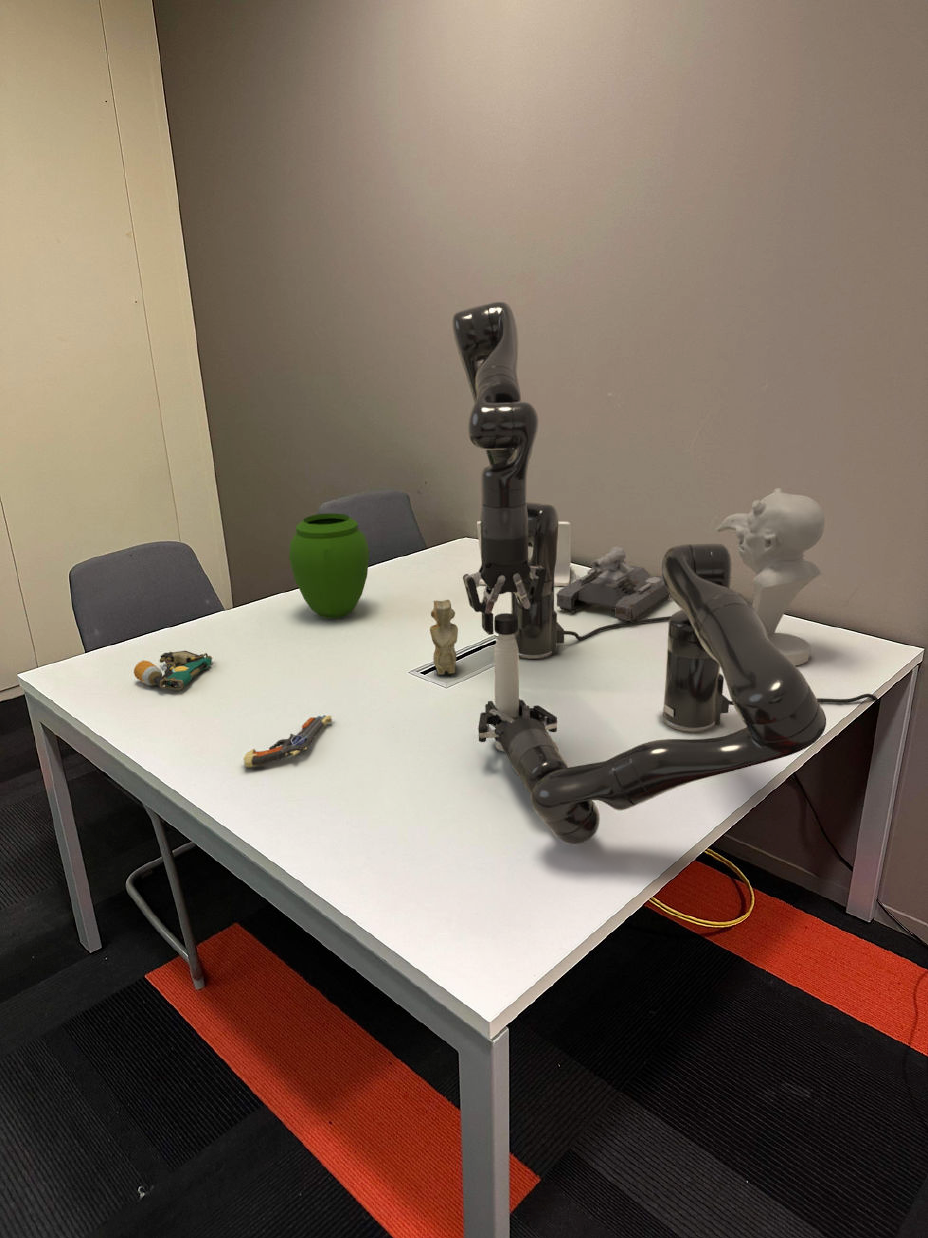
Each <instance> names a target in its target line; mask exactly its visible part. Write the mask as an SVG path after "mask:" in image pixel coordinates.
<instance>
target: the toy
mask: <svg viewBox="0 0 928 1238" xmlns="http://www.w3.org/2000/svg"><path fill="white" fill-rule="evenodd" d="M626 557H627V556H626V551H625V549H624V548H622V547H621V546H614V547H612V548H611V549H610V550H609V552H608V553H607V554H605V555H604V556H601V557H599V558H598V559H597V557H596V558H594V559H593V560H592V561H590V562H589V563H590V564H591V565H592V567H591V568H590V569H589V570H587V573H586V575H584V576H582V577H580V578H578V579H577V580H575V581H573V582H570V583H569V585H567V586H563V587H562V588H560V589H559V590H558V591H557V592H556V607H558V608H559V609H560V610H562V611H566V612H572V613H575V612H577V611H579V610H581V609H582V608H585V607H586V606H588V605H592V606H598V607H602V608H603V607H604V608H609V609H613V610H614V618H615V619H617V620H618V621H621V622H632V623H633V621H635V620H640V619H641V618H642V617H644V616H645V615H647V614H648V613H650V612H651V611H652V610H654V609H655V608H657V607H659V606H660V605H661V604H663V603H664V602H666V601H667V600H669V598H670V597H671V596H670V594H669V593H668V591H667V589H666V586H665V584H664V581H663V576H662V575H656V576H655V577H654V576H651V574H650V573H649V572H648V571H647V570H646V568H644V567H641V566H635V565H629V564H628V563H627V562H626V561H625V559H626Z"/></svg>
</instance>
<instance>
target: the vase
mask: <svg viewBox="0 0 928 1238" xmlns="http://www.w3.org/2000/svg"><path fill="white" fill-rule="evenodd" d="M358 524H359V523H358V521H356V520H355V519H353V518H352V517H350V516H349V515H347V514H344V513H335V512H334V513H333V512H331V513H320V514H313V515H310V516H307V517H305V518H303V519H302V520H301V521H300V522H299V523H298V524H297V525H296V526H295V532H296V533H295V534H294V536H293V537H292V538H291V540H290V542H289V551H288V559H289V564H290V566H291V567H290V568H291V570H292V575H293V578H294V581H295V584H296V586H297V587H298V589H299V591H300V593H301V596H302V597H303V600H304V601H305V603H306V604H307V605H308V607H309V608H310V609H311V611H312V612H314V613H315V614H316V615H317V616H318V617H320V618H324V619H326V620H327V619H329V620H336V619H341V618H345V617H347V616H349V615H350V614H351V613H352V612H353V611H354V610H355V608H356V607H357V605H358V604H359V601H360V599H361V597H362V595H363V592H364V588H365V586H366V581H367V578H368V570H369V561H370V560H369V559H370V548H369V545H368V541H367V537H366V535H365V534H364V533H363V532H362V531H361V530H360V529H359V527H358Z"/></svg>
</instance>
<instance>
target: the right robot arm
mask: <svg viewBox="0 0 928 1238" xmlns="http://www.w3.org/2000/svg"><path fill="white" fill-rule="evenodd" d="M661 576H662V577H663V581H664V584H665V586H666V589H667V591H668V593H669V594H670V596H669V597H670V598H671V599H672V600H673V601H674V603H676V605H677V606H678V607H679V608H680V610H677V611H676V612H674V613H673V614H672V615H670V616H671V617H670V620H668V629H667V631H668V632H667V647H666V664H665V679H664V680H665V681H664V699H663V709H662V710H663V711H662V721H663V723H664V724H665V725H666V726H668V727H670V728H671V729H674V730H677V731H680V732H685V733H702V732H706V731H710V730H712V729H713V728H714V727H715V726H720V724H721V716H722V714H728V713H729V709H730V706H733V707H734V709H735V711H736V713H737V714H738V716H739V717H740V719H741V721H742V722H743V724H744V726H745V727H743V728H741V729H739V730H737V731H735V732H733V733H729V734H726V735H723V736H717V737H710V738H694V739H692V738H691V739H689V738H688V739H687V738H674V739H673V738H667V739H656V740H652V741H647V742H643V743H641V744H638V745H636V746H634V747H632V748H630V749H628V750H626V751H623V752H621V753H619V754H617V755H614V756H613V757H611V758H609V759H607V760H603V761H600V762H592V763H587V764H581V765H575V766H569V765H568V764H567V762H566V760H565V759H564V757H563V756H562V754H561V753H560V750H559V748H558V746H557V744H556V742H555V741H554V740H553V738H552V736H551V735H550V733H557V732H558V717H557V716H556V715H554V714H553V713H551V712H550V711H548V710H546V709H545V708H543V707H542V706H540V705H534V706H533V707H530V705H527V704H526V702H525V701H524V700H523V699H520V698H519V716H517V717H509V716H507V715H506V714H505V713H503V712H502V713H500V712H498V711H497V709H496V707H495V702H494V701H493V700H488V701H487V703H485V706H484V708H485V709H484V710H485V711H483V712H480V713H479V714H480V715H479V721H478V742H479V743H485V742H487V739H494V740H495V742H496V741H498V742H500V743H501V745H502V748H503V750H504V751H503V752H504V753H505V756H506V757H507V759H508V761H509V763H510V765H511V766H512V768H513V770H514V772H515V773H516V774H517V776H519V778H520V780H521V781H522V783H523V785H524V787H525V788H526V790H527V792H528V793H529V794H530V803H531V806H532V808H533V810H534V811H535V812H536V814H537V815H538V816H539V817H540V819H541V820H542V821H543V823H545V825H547V827H548V828H549V829H550V830H551V831H552V833H553V835H554V836H556V838H557V839H558V840H560V841H562V842H563V843H566V844H569V845H582V844H584V843H587V842H588V841H590V840H591V839H592V838H593V837H594V836H595V835H596V833H597V831H598V830H599V827H600V821H601V820H600V819H601V815H600V811H599V809H598V806H597V805H596V804H595V802H594V801H600V802H602V803H604V804H606V805H607V806H609V807H610V808H612V809H613V810H615V811H620V812H622V811H626V810H628V809H631V808H634V807H635V806H638V805H640V804H642V803H645V802H647V801H649V800H651V799H653V798H656V797H658V796H660V795H663V794H665V793H667V792H669V791H672V790H675V789H677V788H679V787H682V786H685V785H688V784H691V783H693V782H698V781H700V780H704V779H708V778H711V777H715V776H719V775H723V774H727V773H731V772H735V771H739V770H742V769H747V768H750V767H752V766H756V765H760V764H765V763H768V762H772V761H775V760H780V759H782V758H786V757H788V756H792V755H794V754H797V753H799V752H802V751H804V750H806V749H807V748H809V747H810V746H812V745H814V744H815V743H816V742H817V741H818V740H820V738H821V737H822V735H823V734H824V732H825V730H826V728H827V727H826V726H827V717H826V713H825V711H824V709H823V707H822V706H821V704H820V703H829V704H849V703H854V702H857V701H861V700H863V699H867V698H868V699H871V700H873V701H879V699H878V698H877V696H875V695H874V694H872V693H863V694H859V695H858V696H854V697H852V698H825V697H824V698H819V697H816V695H815V693H814V691H813V690H812V688H811V686H810V684H809V683H808V682H807V680H806V678H805V676H804V675H803V673H802V672H801V671H800V670H799V668H798V667H797V665H796V666H795V665H794V664H793V663H792V662H791V661H790V660H788V659H787V658H786V657H785V656H784V655H783V654H782V653H781V652H780V651H779V650H778V649H777V648H776V647H775V646H774V645H773V644H772V643H771V641H770V640H769V639H768V637H767V630H766V628H765V625H764V623H763V621H762V619H761V618H760V616H759V615H758V613H757V612H756V611H755V609H754V608H753V606H752V603H751V602H750V601H749V599H748V598H746V597H744V595H742V594H741V593H739V592H738V591H735V590H733V589H731V588H730V586H731V578H732V557H731V553H730V551H729V549H728V548H727V546H726V545H724V544H722V543H690V544H689V543H688V544H687V543H686V544H685V543H684V544H683V543H682V544H678V545H674V546H671V547H670V548H668V549H667V550H666V552H665V553H664V555H663V558H662V562H661ZM720 671H721V672H722V673H720ZM724 683H725V684H726V686H727V690H728V693H729V697H730V699H731V700H729V698H727V696H726V695H724V694H723V693H724ZM490 726H492V727H493V728H494V729H492V727H490ZM548 731H549V732H550V733H549V732H548Z"/></svg>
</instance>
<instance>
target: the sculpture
mask: <svg viewBox="0 0 928 1238" xmlns="http://www.w3.org/2000/svg"><path fill="white" fill-rule="evenodd" d="M455 615H456V611H455V609H453V608H452V602H451V601H450V599H445V600H433V610H431V612H430V617H431V618H432V619H433V620H434V621H435V622H436V623H435V624H433V625H431V626H429V633H430V636H431V640H432V641H431V642H432V643H433V645H434V648H435V649H434V652H433V656H432V657H433V659H432V660H433V665H434V667H435V668H436V671H437V674H438V675H445V674H446V672H447V673H448V674H455V673H456V666H457V665H456V663H457V652H456V649H455V644H456V643H457V642H458V637H459V635H458V634H459V627H458V626H457V624H455V623H453V622H451V621H452V620H453V619H454V618H455Z"/></svg>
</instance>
